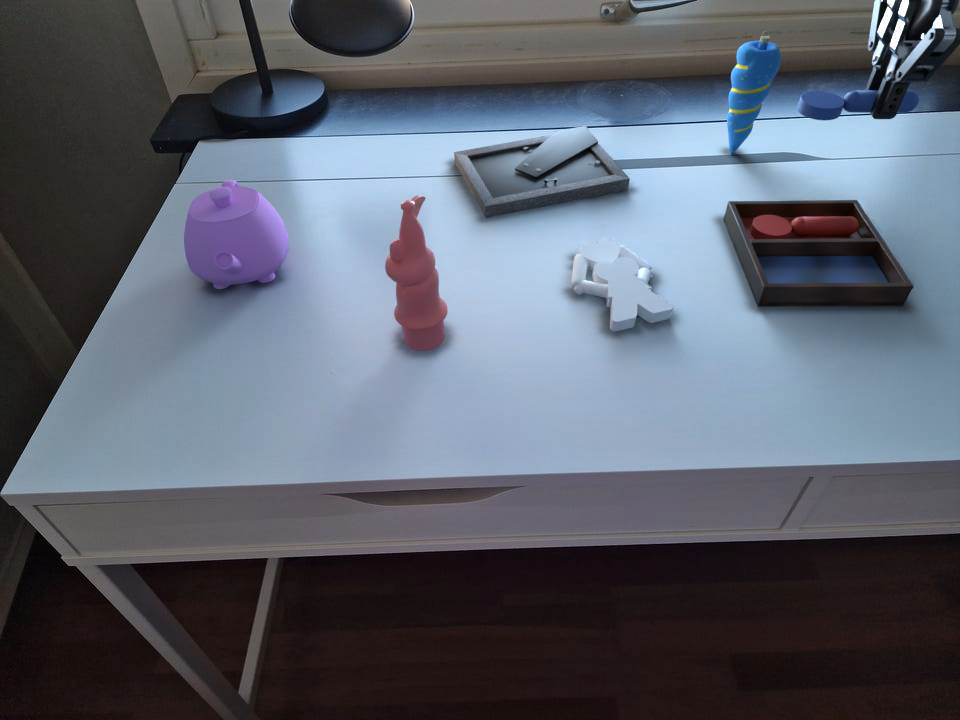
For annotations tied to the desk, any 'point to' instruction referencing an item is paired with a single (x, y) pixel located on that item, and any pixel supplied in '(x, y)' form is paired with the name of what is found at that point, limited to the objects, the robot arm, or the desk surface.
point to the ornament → (750, 87)
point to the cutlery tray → (816, 258)
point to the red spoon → (802, 226)
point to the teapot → (234, 236)
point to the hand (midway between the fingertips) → (876, 110)
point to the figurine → (416, 283)
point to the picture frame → (539, 172)
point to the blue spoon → (846, 103)
